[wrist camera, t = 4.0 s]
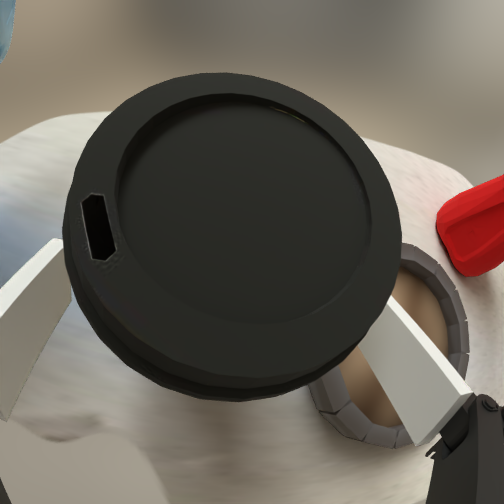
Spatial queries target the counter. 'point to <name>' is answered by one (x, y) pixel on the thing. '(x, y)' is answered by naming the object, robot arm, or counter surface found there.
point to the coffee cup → (230, 236)
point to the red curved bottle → (474, 228)
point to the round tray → (360, 373)
